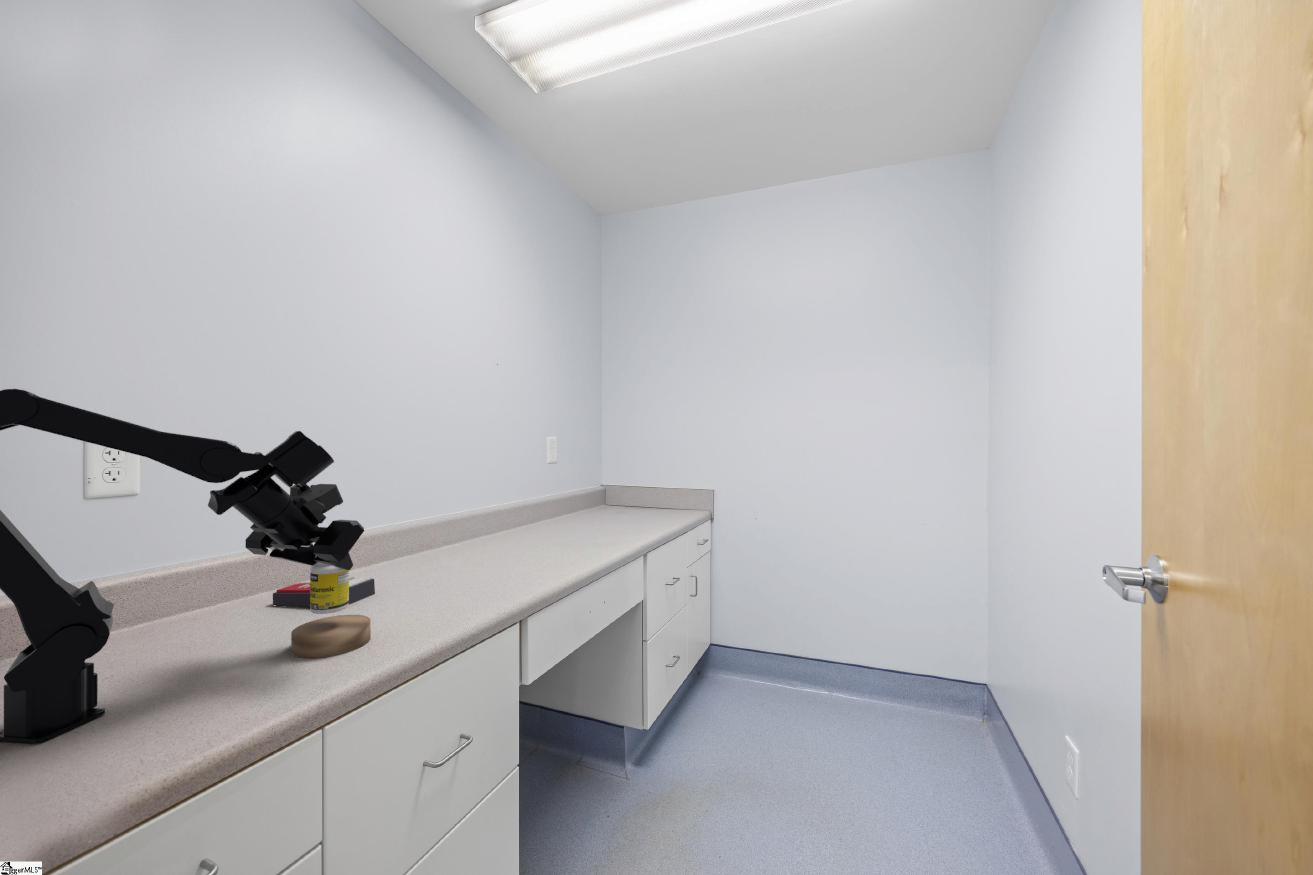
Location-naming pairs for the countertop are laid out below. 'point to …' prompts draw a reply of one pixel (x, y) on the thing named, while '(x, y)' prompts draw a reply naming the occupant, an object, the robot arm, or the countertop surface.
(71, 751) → the countertop surface
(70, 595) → the robot arm
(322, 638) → the pedestal
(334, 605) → the supplement bottle
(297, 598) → the red and grey box
